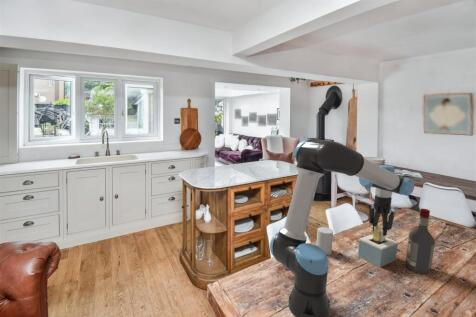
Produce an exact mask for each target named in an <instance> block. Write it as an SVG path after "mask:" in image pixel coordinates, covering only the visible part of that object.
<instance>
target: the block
mask: <svg viewBox="0 0 476 317" xmlns="http://www.w3.org/2000/svg"><path fill="white" fill-rule="evenodd" d="M381 229H383V226H379V228H376V229H374V232H373V231H372V232H373V233H372V234H373V241H376V242H378V243H379V242H381V241H380V236H381ZM384 240H385V239H384Z"/></svg>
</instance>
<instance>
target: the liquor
mask: <svg viewBox="0 0 476 317" xmlns="http://www.w3.org/2000/svg"><path fill="white" fill-rule="evenodd" d="M430 212H431V211H430V209H427V208H420V212H419V220H418V221H419V222H418V226H417V228H415V229H413V230H412V231H410V232H409V233H408V238H407V239H408V240H407V245H406V255H405V265H406V266H407V268H408V269H409V270H410V271H412V272H414V273H419V274H425V275H427V274H429V273H430V272H432V265H433V260H434V259H433V258H434V250H435V243H436V240H435V238H434V236H433V235H432V234H431V233H430V232H429V228H428V227H429V218H430V214H431V213H430Z"/></svg>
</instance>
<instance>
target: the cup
mask: <svg viewBox="0 0 476 317" xmlns="http://www.w3.org/2000/svg"><path fill="white" fill-rule="evenodd" d="M333 237H334V230H333V229H331V228H330V227H325V226H321V227H318V228H317V230H316V244H315V245H316V246H318V247H320V248H321V249H323V250H324V251H325V253H326V254H327V256H328V255H331V254H332V252H333V251H332V250H333V249H332V248H333V240H334V238H333Z"/></svg>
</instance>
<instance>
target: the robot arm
mask: <svg viewBox="0 0 476 317" xmlns="http://www.w3.org/2000/svg"><path fill="white" fill-rule="evenodd" d="M293 156H294V160H295V162H296V170H297V171H298V174H297V177H296V181H295V185H294V187H293V192H292V196H291V200H290V204H289V208H288V212H287V215H286V220H285V223H284V226H283V227H282V228H280V229H279V230H278V231H279V232H277V233H275V235H273V236H272V238H271V240H270V243H269V251H270V254H271V255H272V256H273V257H274V259H275V260H276V261H277V262H278V263H280V264H281V265H282V266H283V267H284V268H286V269H287V270H288V271H290V273H292V274H293V275H294V281H293V282H294V283H293V287H292V289H291V292H290V294H289V296H288V309H289V310H290V312H291V314H293V316H295V317H330V307H331V306H330V303H329V300H328V296H327V281H328V270H329V258H328V255H327V254H326V253H325V251H324V250H323V249H321V248H320V247H318V246H316V244H314V245H313V244H312V243H307V240H308V239H307V236H306V232H305V231H306V229H307V225H308V222H309V218H310V214H311V210H312V206H313V203H314V199H315V194H316V191H317V188H318V184H319V180H320V178H321V177H323V176H325V173H326V171H327V172H332V173H339V174H343V175H346V176H349V177H353V176H355V177H357V178H358V182H359V184H360V186H362V187H363V188H375V190H374V191H375V192H374V200H373V201H374V203H372V204H368V209H369V211H368V212H369V216H368V217H369V219H368V220H369V224H371V225H372V232H374V229H376V228H379V227H380V226H379V225H378V224H379V219H380V216H381V218H382V220H381V221H382V228H383V229H381V236H380V241H381V242H382V241H384V239H385V237H387V235H388V231H389V230H392V228H393V223H394V218H395V216H396V215H397V212H396V211H395V210H392V207H391V206H392V205H391V204H392V199H393V197H392V196H393V193H394V194H398V195H401V196H402V195H403V196H406V197H409V196H410V195H411V194H413V193H414V190H415V181H414V180H413V179H412V178H408V177H407V176H405V177H404V176H401V175H398V174H396V173H395V166H393V165H389V164H388V165H386V164H379V165H378V164H376V163H374V162H372V161H370V160H368V159H367V158H364V155H363V154H362V153H360V152H358V151H356V150H355V149H352V148H351V147H349V146H347V145H345V144H343V143H340V142H337V141H334V140H333V141H332V140H326V139H316V138H307V139H304V140H302V141H299V143H298V144H297V145H296V147H295V149H294V153H293Z"/></svg>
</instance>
